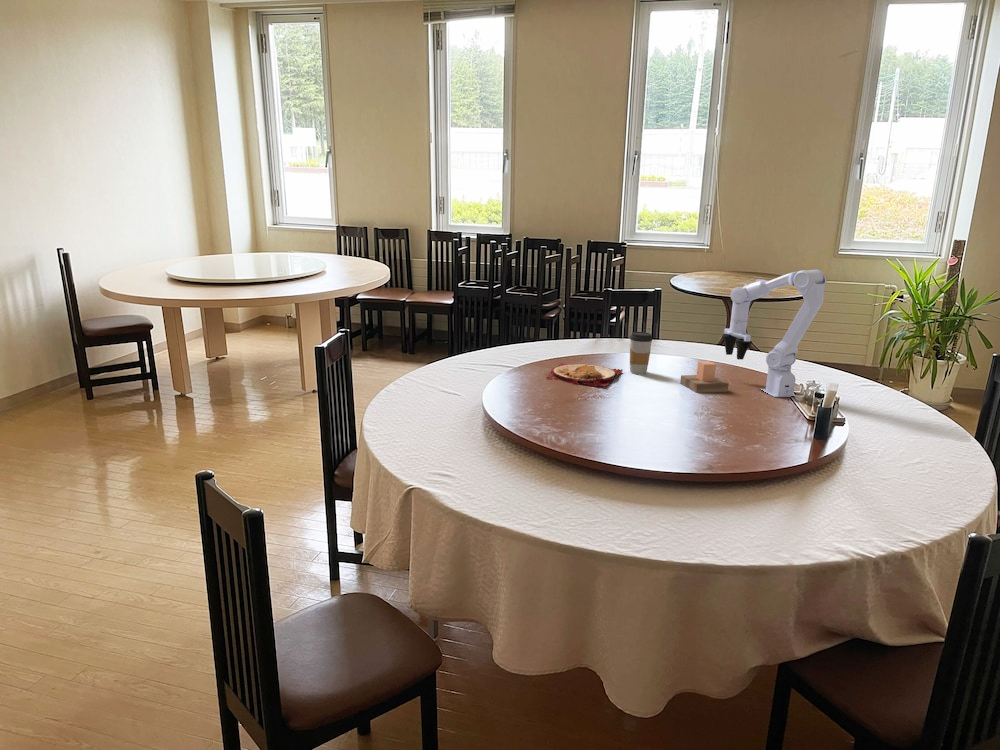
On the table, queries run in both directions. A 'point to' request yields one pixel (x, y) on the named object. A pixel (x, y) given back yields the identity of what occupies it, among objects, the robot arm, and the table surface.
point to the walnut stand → (704, 384)
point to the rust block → (706, 371)
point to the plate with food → (584, 374)
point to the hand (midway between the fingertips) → (734, 356)
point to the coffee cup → (639, 352)
